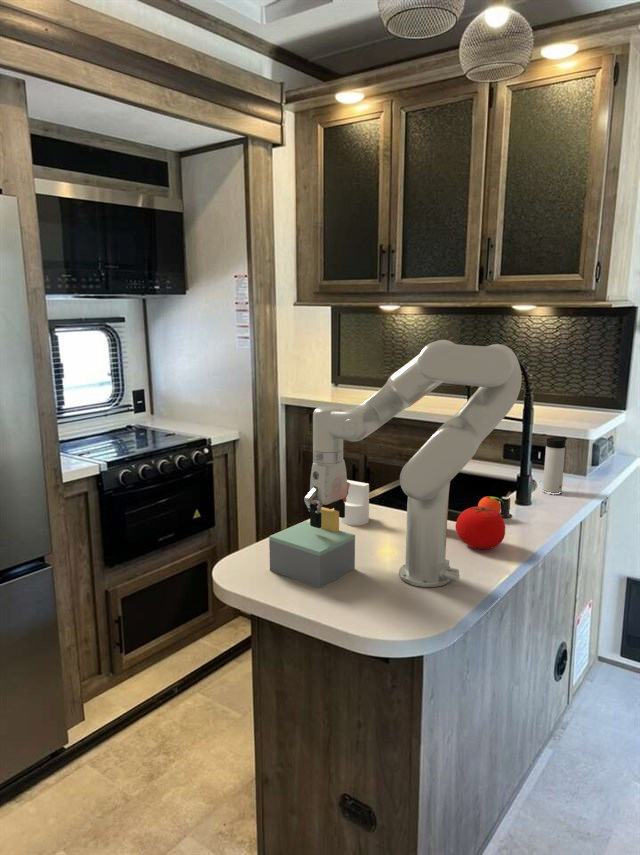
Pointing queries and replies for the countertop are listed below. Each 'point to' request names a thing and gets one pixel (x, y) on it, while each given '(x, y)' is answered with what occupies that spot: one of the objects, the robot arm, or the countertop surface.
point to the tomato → (480, 527)
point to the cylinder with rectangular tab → (356, 504)
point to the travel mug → (554, 464)
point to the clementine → (490, 503)
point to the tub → (312, 563)
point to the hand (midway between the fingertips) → (327, 521)
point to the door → (315, 534)
